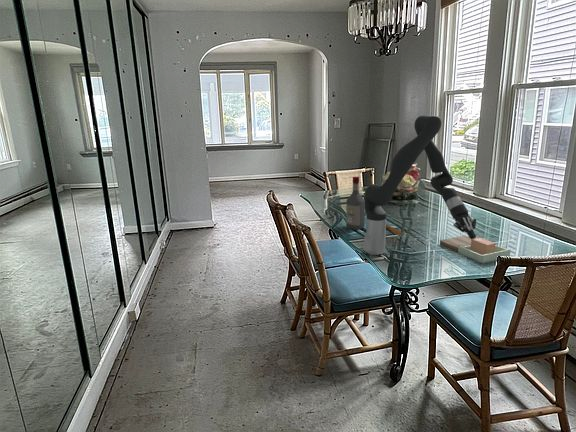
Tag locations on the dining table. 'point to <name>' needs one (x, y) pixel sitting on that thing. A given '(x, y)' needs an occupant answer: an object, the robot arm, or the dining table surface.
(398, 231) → the primitive tool
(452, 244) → the board
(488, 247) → the salmon-coloured block
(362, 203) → the liquor
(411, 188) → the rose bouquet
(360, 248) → the dining table surface
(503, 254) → the tray
